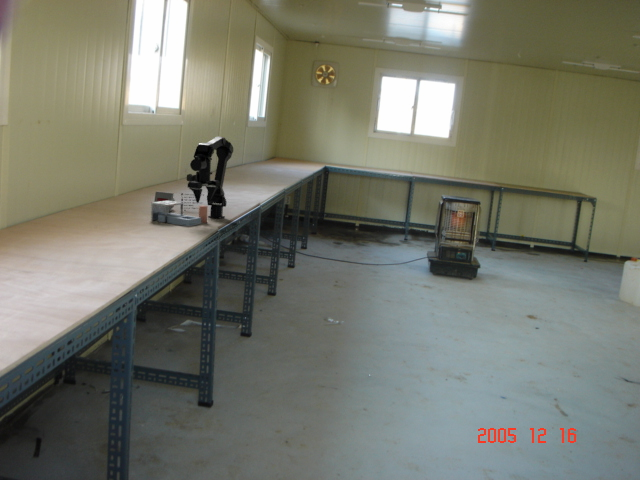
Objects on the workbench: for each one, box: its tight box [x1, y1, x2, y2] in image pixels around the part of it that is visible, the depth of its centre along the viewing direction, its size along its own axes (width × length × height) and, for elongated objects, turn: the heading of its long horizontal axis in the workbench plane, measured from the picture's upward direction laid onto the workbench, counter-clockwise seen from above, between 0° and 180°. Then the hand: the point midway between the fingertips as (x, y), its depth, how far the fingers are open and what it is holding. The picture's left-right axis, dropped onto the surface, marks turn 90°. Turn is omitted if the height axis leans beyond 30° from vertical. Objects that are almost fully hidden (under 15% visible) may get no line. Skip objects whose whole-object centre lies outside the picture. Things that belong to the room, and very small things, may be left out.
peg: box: [198, 205, 208, 224], centre depth 287 cm, size 4×4×8 cm
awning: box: [150, 200, 184, 224], centre depth 285 cm, size 13×9×9 cm
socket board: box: [157, 212, 202, 227], centre depth 283 cm, size 10×18×3 cm, turn 64°
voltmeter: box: [153, 191, 205, 213], centre depth 318 cm, size 27×11×10 cm, turn 112°
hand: (203, 201), depth 286 cm, fingers open, 9 cm apart
